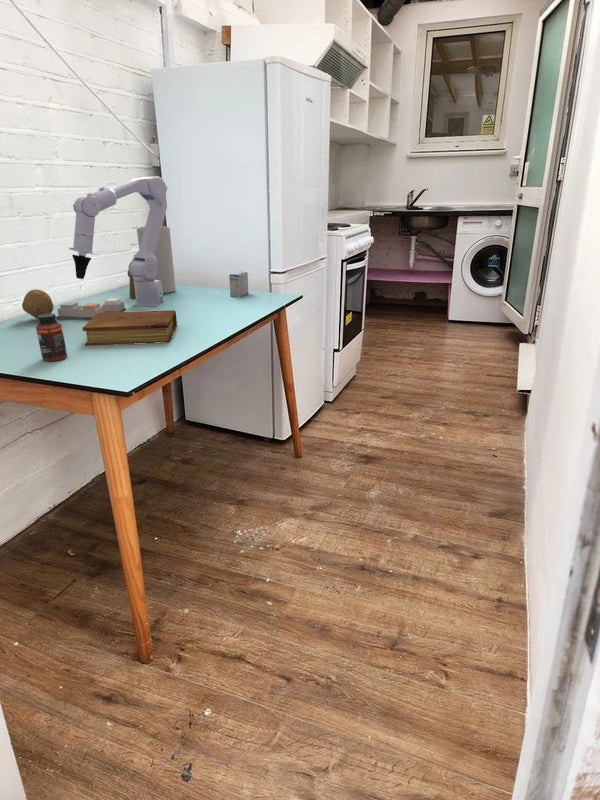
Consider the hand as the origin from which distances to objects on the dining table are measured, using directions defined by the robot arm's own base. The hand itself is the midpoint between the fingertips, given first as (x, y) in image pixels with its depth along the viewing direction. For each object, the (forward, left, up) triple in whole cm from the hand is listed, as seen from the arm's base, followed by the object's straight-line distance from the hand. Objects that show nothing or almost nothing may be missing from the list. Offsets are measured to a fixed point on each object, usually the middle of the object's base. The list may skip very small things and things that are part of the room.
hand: (80, 278), depth 176 cm
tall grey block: (-11, -43, -13) cm, 46 cm away
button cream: (-7, -6, -11) cm, 14 cm away
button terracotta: (-3, +2, -11) cm, 11 cm away
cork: (-6, -31, -13) cm, 34 cm away
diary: (-25, +23, -13) cm, 37 cm away
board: (-1, -2, -12) cm, 13 cm away
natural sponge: (+13, +6, -13) cm, 19 cm away
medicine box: (-45, -37, -13) cm, 60 cm away
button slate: (+5, +1, -11) cm, 12 cm away
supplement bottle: (-13, +46, -13) cm, 50 cm away
